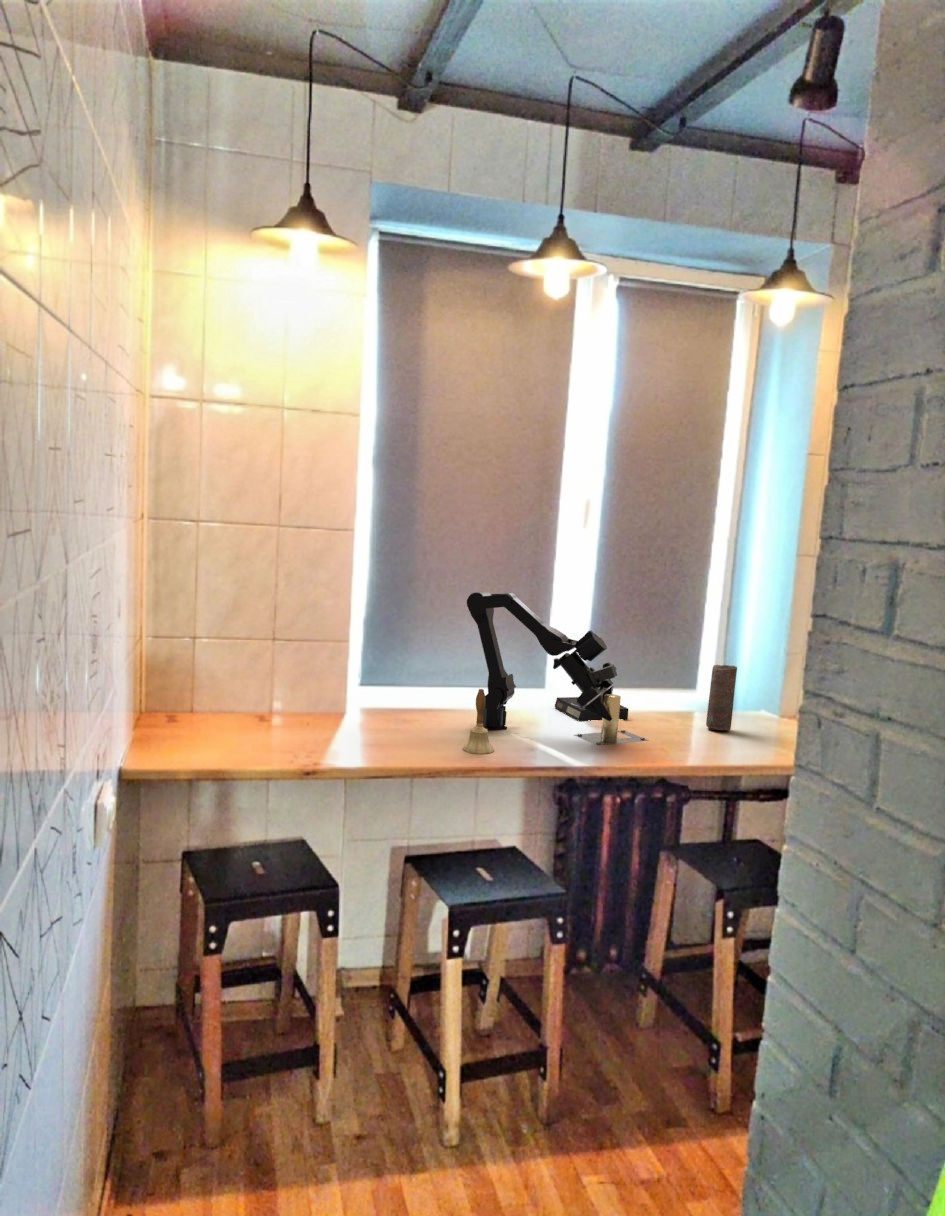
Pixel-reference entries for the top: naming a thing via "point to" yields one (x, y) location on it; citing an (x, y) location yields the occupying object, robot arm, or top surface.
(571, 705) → the portable cd player
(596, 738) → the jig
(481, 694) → the hand bell
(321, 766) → the top surface
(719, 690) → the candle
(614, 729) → the disc
